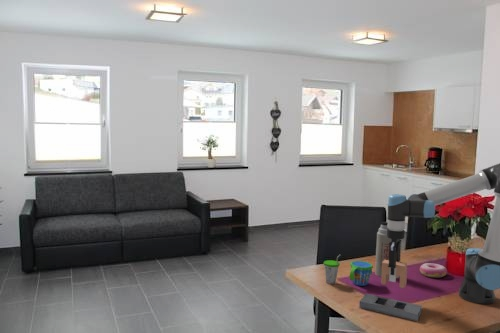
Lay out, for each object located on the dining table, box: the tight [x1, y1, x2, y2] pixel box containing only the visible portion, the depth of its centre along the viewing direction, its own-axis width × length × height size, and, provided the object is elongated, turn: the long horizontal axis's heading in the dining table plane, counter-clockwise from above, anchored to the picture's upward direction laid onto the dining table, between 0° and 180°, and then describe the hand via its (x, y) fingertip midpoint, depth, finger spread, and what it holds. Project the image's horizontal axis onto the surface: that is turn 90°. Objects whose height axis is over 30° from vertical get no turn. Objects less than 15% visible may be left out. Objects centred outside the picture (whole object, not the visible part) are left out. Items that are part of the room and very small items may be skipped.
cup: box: [323, 254, 342, 285], centre depth 223 cm, size 8×8×15 cm
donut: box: [419, 262, 448, 279], centre depth 239 cm, size 14×13×5 cm
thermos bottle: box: [374, 221, 391, 278], centre depth 236 cm, size 8×8×28 cm
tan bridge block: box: [380, 260, 408, 289], centre depth 203 cm, size 10×5×10 cm, turn 60°
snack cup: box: [348, 260, 373, 287], centre depth 223 cm, size 16×10×10 cm
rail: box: [358, 293, 423, 322], centre depth 193 cm, size 24×10×3 cm, turn 60°
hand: (393, 279), depth 203 cm, fingers closed on tan bridge block, 5 cm apart
